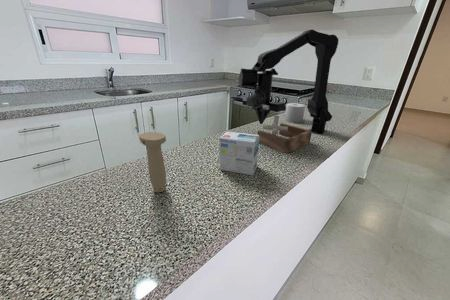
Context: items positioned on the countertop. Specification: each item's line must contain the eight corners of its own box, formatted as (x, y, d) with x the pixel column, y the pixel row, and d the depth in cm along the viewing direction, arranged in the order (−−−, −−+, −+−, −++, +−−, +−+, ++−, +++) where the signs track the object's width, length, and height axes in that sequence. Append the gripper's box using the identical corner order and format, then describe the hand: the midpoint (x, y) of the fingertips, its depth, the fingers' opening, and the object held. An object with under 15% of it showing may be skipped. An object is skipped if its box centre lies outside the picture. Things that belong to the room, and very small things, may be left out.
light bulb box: (257, 166, 68) (260, 134, 63) (253, 176, 62) (255, 142, 57) (226, 160, 71) (226, 130, 66) (219, 170, 65) (218, 137, 61)
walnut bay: (280, 133, 96) (281, 123, 94) (309, 142, 86) (311, 130, 84) (256, 142, 86) (257, 130, 84) (286, 153, 76) (288, 140, 74)
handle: (160, 199, 52) (152, 141, 46) (144, 190, 55) (134, 135, 49) (175, 189, 55) (169, 135, 49) (159, 182, 59) (151, 130, 53)
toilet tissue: (295, 116, 124) (298, 101, 121) (305, 122, 112) (307, 106, 109) (280, 116, 124) (282, 101, 120) (288, 123, 112) (290, 106, 108)
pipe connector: (286, 145, 84) (291, 120, 80) (261, 142, 86) (264, 118, 81) (284, 136, 93) (288, 114, 89) (261, 134, 94) (264, 112, 90)
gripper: (234, 85, 87) (232, 122, 93) (271, 91, 75) (266, 133, 81) (251, 83, 94) (249, 118, 100) (288, 88, 81) (283, 127, 88)
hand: (261, 123), depth 92 cm, fingers closed
